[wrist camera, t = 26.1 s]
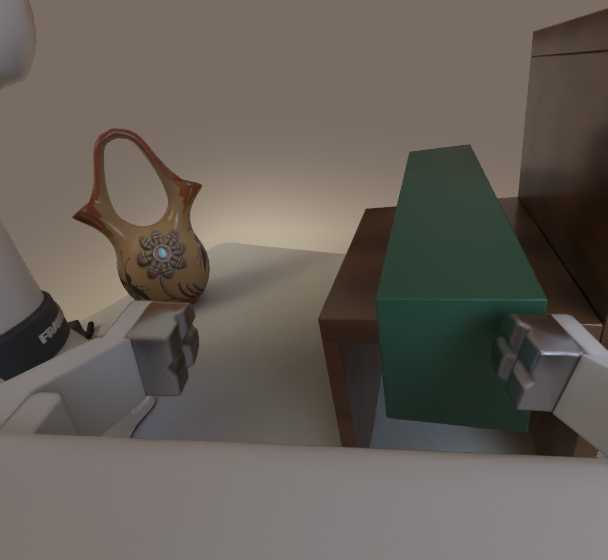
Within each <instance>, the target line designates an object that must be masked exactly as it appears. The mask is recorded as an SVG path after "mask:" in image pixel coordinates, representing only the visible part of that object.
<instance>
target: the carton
mask: <svg viewBox="0 0 608 560" xmlns="http://www.w3.org/2000/svg"><path fill="white" fill-rule="evenodd" d="M375 303H376V314H377V324H378V334H379V344H380V354H381V364H382V374H383V384H384V394H385V404H386V415H387V417H388V418H394V419H403V420H413V421H422V422H431V423H441V424H450V425H460V426H469V427H478V428H488V429H497V430H506V431H516V432H525V433H526V432H528V428H529V421H530V415H531V410H517V409H516V407H515V405H514V403H513V402H512V400H511V398H510V397H509V395H508V393H507V391H506V390H505V387H506V385H507V382H506V381H505V380H503V379H502V378H500V377H499V376H497V374H496V372H495V370H494V368H493V365H492V361H491V349H492V346H493V342H494V340H495V339H496V338H497V337H499V336H500V335H501V334H502V332H501V330H500V328H499V325H500V322H501V319H502V318H503V316H504V315H505V314H546V307H547V297H546V295H545V293H544V291H543V289H542V287H541V285H540V283H539V281H538V279H537V277H536V275H535V273H534V271H533V269H532V267H531V265H530V263H529V261H528V259H527V257H526V255H525V253H524V251H523V249H522V247H521V245H520V243H519V241H518V239H517V237H516V235H515V233H514V231H513V229H512V227H511V225H510V223H509V221H508V219H507V217H506V215H505V213H504V211H503V209H502V207H501V205H500V203H499V201H498V199H497V197H496V195H495V193H494V192H493V190H492V187H491V186H490V183H489V181H488V179H487V177H486V176H485V174H484V172H483V169H482V167H481V165H480V163H479V161H478V159H477V157H476V155H475V153H474V151H473V149H472V147H471V145H461V146H453V147H445V148H437V149H428V150H420V151H413V152H410V153H409V157H408V161H407V165H406V169H405V174H404V178H403V182H402V187H401V191H400V195H399V199H398V204H397V208H396V212H395V216H394V221H393V225H392V229H391V233H390V238H389V242H388V246H387V251H386V255H385V259H384V263H383V268H382V272H381V276H380V281H379V285H378V289H377V293H376V298H375Z"/></svg>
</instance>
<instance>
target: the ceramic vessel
mask: <svg viewBox="0 0 608 560" xmlns="http://www.w3.org/2000/svg"><path fill="white" fill-rule="evenodd" d="M116 138H125V139H128V140H131V141H132V142H133V143H134V144H136V146H137V147H138V148H139V149H140V150H141V151H142V153H143V154H144V155H145V157H146V158H147V159H148V161H149V162H150V163H151V165H152V166H153V168H154V169H155V171H156V172H157V174H158V176H159V178H160V179H161V182H162V184H163V186H164V188H165V191H166V194H167V197H168V208H167V210H166V212H165V214H164V216H163V217H162V219H161V220H160V221H159V222H157V223H155V224H153V225H150V226H136V225H133V224H130V223H128V222H126V221H124V220H123V219H121V218H120V217H119V216H118V215H117V214H116V212H115V210H114V209H113V206H112V204H111V202H110V198H109V195H108V192H107V187H106V182H105V174H104V149H105V146H106V144H107V143H108V142H110V141H111V140H113V139H116ZM201 187H202V185H201V184H199V183H195V182H191V181H186V180H182V179H181V178H179V177H178V176H177V175H176V174H174V173H173V172H171V170H169V169H168V168H167V167H166V166H165V165H164V164H163V163H162V162H161V161H160V160H159V158H158V157H157V156H156V155H155V154H154V152H153V151H152V150H151V149H150V147H149V146H148V145H147V144H146V143H145V142H144V140H142V138H141V137H140V136H138V135H137V134H136V133H134V132H132V131H129V130H125V129H111V130H109V131H107V132H105V133H103V134H102V135H100V136H99V138H98V139H97V140H96V143H95V146H94V184H93V190H92V195H91V198H90V202H89V203H88V204H87V205H85V206H84V207H83V208H82V209H80V210H79V211H78V212H77V213H76V214H75V215H74V216H73V217H72V218H73V219H75V220H78V221H80V222H82V223H85V224H87V225H89V226H91V227H93V228H95V229H97V230H98V231H100V232H101V233H103V234H104V235H105V236H106V237H107V238H108V239H109V240H110V242H111V243H112V245H113V247H114V249H115V252H116V256H117V269H118V274H119V277H120V280H121V282H122V284H123V286H124V288H125V289H126V291H127V292H128V293H129V295H130V296H131V297H132V298H133V299H134V300H136V301H162V302H181V303H191V304H193V303H195V302H196V301H197V300H198V299H199V297H200V296H201V295H202V293H203V291H204V290H205V288H206V285H207V283H208V279H209V271H210V267H209V259H208V256H207V253H206V250H205V248H204V246H203V244H202V243H201V241H200V240H199V239H198V237H197V236H196V235H195V233H194V231H193V229H192V227H191V223H190V211H191V207H192V204H193V202H194V199H195V198H196V196H197V194H198V192H199V191H200V189H201Z"/></svg>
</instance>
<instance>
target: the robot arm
mask: <svg viewBox="0 0 608 560" xmlns="http://www.w3.org/2000/svg"><path fill="white" fill-rule="evenodd" d="M35 46H36V32H35V24H34V16H33V13H32V9H31V5H30V2H29V0H0V90H1V89H3V88H6V87H8V86H10V85H13V84H16V83H18V82H21V81H23V80H24V79H25V78H26V76H27V74H28V73H29V71H30V68H31V65H32V63H33V58H34V54H35ZM63 315H64V314H63V312H62V310H61V309H60V307H59V305H58V304H57V303H56V302H55V301H54V300H53V299H52V297H51V295H50V294H49V293H47V292H45V291H42V290H41V289H40V288H39V286H38V284H37V282H36V281H35V279H34V277H33V275H32V274H31V272H30V270H29V268H28V267H27V265H26V263H25V261H24V260H23V258H22V256H21V255H20V253H19V251H18V249H17V247H16V246H15V244H14V242H13V240H12V239H11V237H10V235H9V233H8V232H7V230H6V228H5V226H4V224H3V223H2V221H1V219H0V560H608V350H607V349H606V348H605V347H603V346H602V345H601V344H600V343H599V342H598V341H597V340H596V339H595V338H594V337H593V336H592V335H591V334H590V333H589V332H588V331H587V330H586V329H585V328H584V327H583V326H582V325H581V324H580V323H579V322H578V321H577V320H576V319H575V318H574V317H573V316H570V315H568V314H505V315H504V316H503V318H502V319H501V322H500V325H499V328H500V330H501V332H502V334H501V335H500V336H499V337H497V338H496V339H495V340H494V342H493V346H492V349H491V361H492V365H493V368H494V370H495V372H496V374H497V376H499V377H500V378H502V379H503V380H505V381H506V382H507V385H506V387H505V390H506V391H507V393H508V395H509V397H510V398H511V400H512V402H513V403H514V405H515V407H516V409H517V410H532V411H547V412H553V414H554V415H555V416H556V417H558V418H559V419H560V420H561V421H563V422H564V423H565V424H566V425H568V426H569V427H570V428H571V429H573V430H574V431H575V432H576V433H577V434H579V435H580V436H581V437H582V438H584V439H585V440H586V441H587V442H589V443H590V444H591V445H592V446H594V447H595V448H596V449H597V450H598V451H600V452H601V453H602V454H603V455H605V456H606V457H607V458H586V457H561V456H539V455H516V454H494V453H472V452H450V451H427V450H403V449H379V448H356V447H332V446H308V445H284V444H260V443H237V442H213V441H190V440H166V439H143V438H130V437H131V435H132V433H133V431H134V429H135V427H136V425H137V424H138V423H139V422H140V421H141V420H142V419H143V417H144V416H145V415H146V414H147V413H148V412H149V411H150V409H151V408H152V407H153V405H154V403H155V398H154V396H180V395H181V393H182V391H183V389H184V386H185V384H186V382H187V379H188V377H189V376H188V371H187V369H188V368H189V367H191V366H192V365H194V363H195V360H196V358H197V354H198V348H199V336H198V330H197V329H196V328H195V327H194V326H193V325H192V323H193V320H194V318H195V312H194V307H193V305H192V304H191V303H181V302H162V301H132V302H131V303H130V304H129V305H128V306H127V308H126V309H125V310H124V311H123V312H122V314H121V315H120V316H119V317H118V319H117V320H116V321H115V322H114V323H113V325H112V326H111V327H110V328H109V330H108V331H107V332H106V333H105V334H104V336H103V337H96V338H94V339H92V340H87V339H89V338H90V337H91V336H92V333H93V326H94V323H93V322H92V321H90V322H89V323H88V326H87V332H85V331H84V330H83V328H82V326H81V324H80V322H79V321H78V320H75V321H72V322H67V321H66V319H65V318H64V316H63Z"/></svg>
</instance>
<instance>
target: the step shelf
mask: <svg viewBox="0 0 608 560" xmlns="http://www.w3.org/2000/svg"><path fill="white" fill-rule="evenodd" d="M531 56H532V57H531V64H530V74H529V84H528V95H527V106H526V116H525V128H524V138H523V149H522V160H521V171H520V182H519V192H518V197H511V198H497V199H498V201H499V203H500V205H501V207H502V209H503V211H504V213H505V215H506V217H507V219H508V221H509V223H510V225H511V227H512V229H513V231H514V233H515V235H516V237H517V239H518V241H519V243H520V245H521V247H522V249H523V251H524V253H525V255H526V257H527V259H528V261H529V263H530V265H531V267H532V269H533V271H534V273H535V275H536V277H537V279H538V281H539V283H540V285H541V287H542V289H543V291H544V293H545V295H546V297H547V307H546V314H568V315H570V316H573V317H574V318H575V319H576V320H577V321H578V322H579V323H580V324H581V325H582V326H583V327H584V328H585V329H586V330H587V331H588V332H589V333H590V334H591V335H592V336H593V337H594V338H595V339H596V340H597V341H598V342H599V343H600V344H601V345H602V346H603V347H605V348H606V349H607V350H608V8H606V9H603V10H599V11H596V12H593V13H590V14H587V15H584V16H580V17H577V18H575V19H571V20H568V21H565V22H561V23H558V24H555V25H552V26H549V27H546V28H542V29H540V30H536V31H534V32H533V41H532V53H531ZM396 208H397V206H396V207H384V208H372V209H366V210H365V212H364V214H363V217H362V219H361V221H360V224H359V226H358V228H357V231H356V233H355V235H354V238H353V240H352V242H351V245H350V247H349V249H348V251H347V254H346V256H345V258H344V261H343V263H342V265H341V267H340V270H339V272H338V274H337V277H336V279H335V281H334V284H333V286H332V288H331V291H330V293H329V295H328V297H327V300H326V302H325V304H324V307H323V309H322V311H321V314H320V316H319V318H318V321H319V327H320V332H321V337H322V341H323V348H324V353H325V358H326V364H327V369H328V375H329V380H330V385H331V391H332V396H333V401H334V407H335V412H336V418H337V423H338V428H339V434H340V439H341V444H342V447H356V448H370V444H371V437H372V431H373V424H374V418H375V411H376V405H377V398H378V392H379V385H380V379H381V372H382V364H381V354H380V344H379V334H378V324H377V314H376V303H375V298H376V293H377V289H378V285H379V281H380V276H381V272H382V268H383V263H384V259H385V255H386V251H387V246H388V242H389V238H390V233H391V229H392V225H393V221H394V216H395V212H396ZM529 426H530V430H531V434H532V437H533V441H534V444H535V448H536V452H537V455H539V456H561V457H586V458H596V455H597V451H598V450H597V449H596V448H595V447H594V446H592V445H591V444H590V443H589V442H587V441H586V440H585V439H584V438H582V437H581V436H580V435H579V434H577V433H576V432H575V431H574V430H573V429H571V428H570V427H569V426H568V425H566V424H565V423H564V422H563V421H561V420H560V419H559V418H558V417H556V416H555V415H554V414H553V412H547V411H532V410H531V415H530V421H529Z"/></svg>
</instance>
